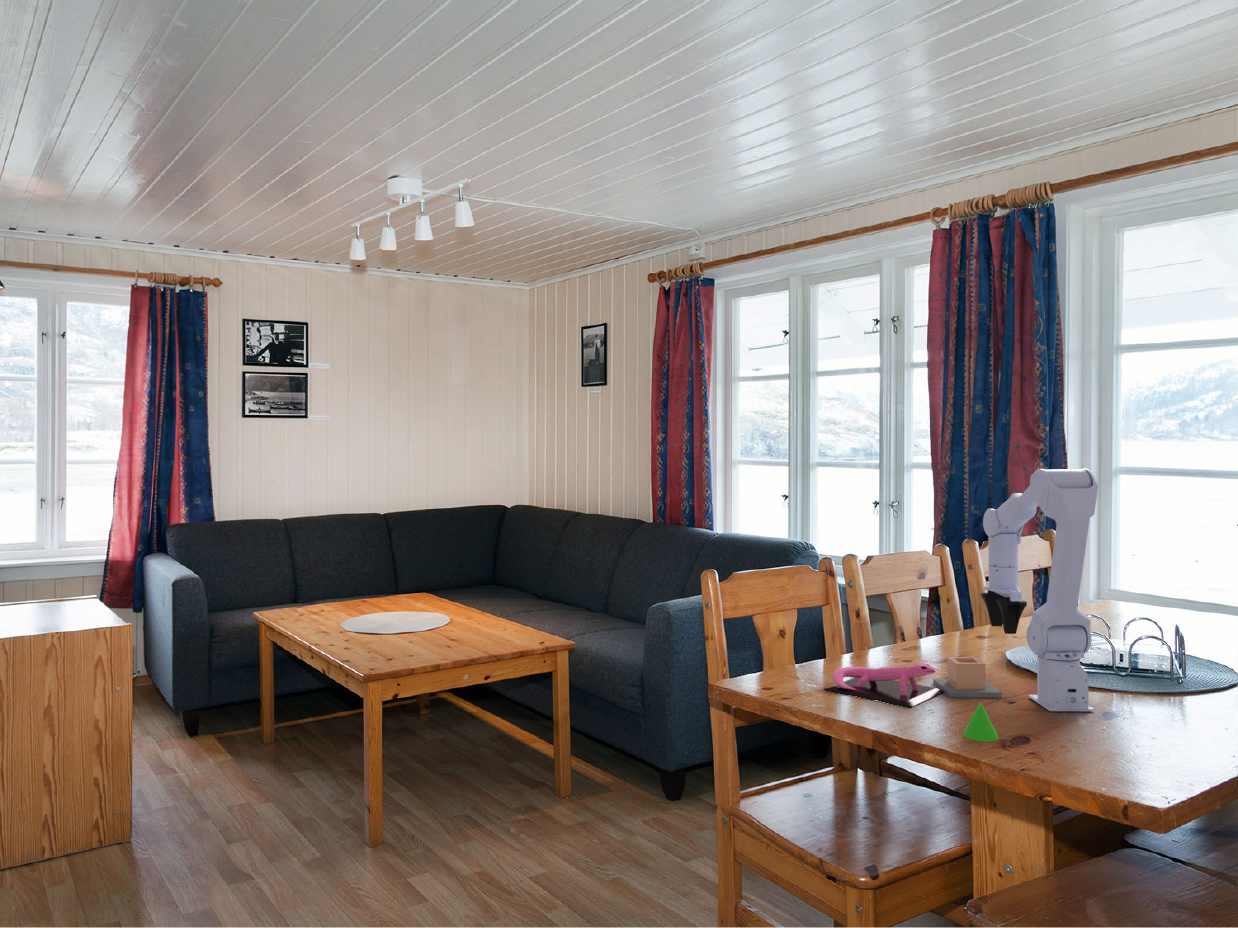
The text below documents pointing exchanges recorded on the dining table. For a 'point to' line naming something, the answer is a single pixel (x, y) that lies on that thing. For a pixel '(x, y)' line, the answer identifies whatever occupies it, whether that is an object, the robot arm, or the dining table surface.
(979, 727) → the green cone
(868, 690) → the lizard figurine
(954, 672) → the collar
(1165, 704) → the dining table surface
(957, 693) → the post plate
